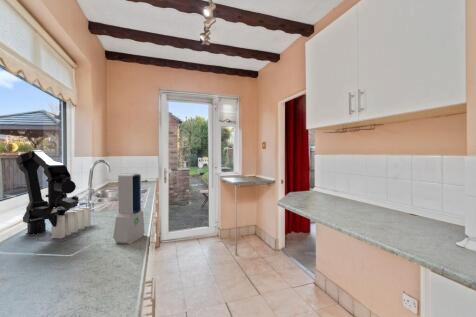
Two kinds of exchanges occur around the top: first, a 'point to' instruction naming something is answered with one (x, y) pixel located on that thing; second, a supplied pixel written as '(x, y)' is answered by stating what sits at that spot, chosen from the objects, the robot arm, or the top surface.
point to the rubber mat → (50, 239)
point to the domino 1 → (59, 227)
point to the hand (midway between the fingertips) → (56, 226)
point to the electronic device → (129, 209)
